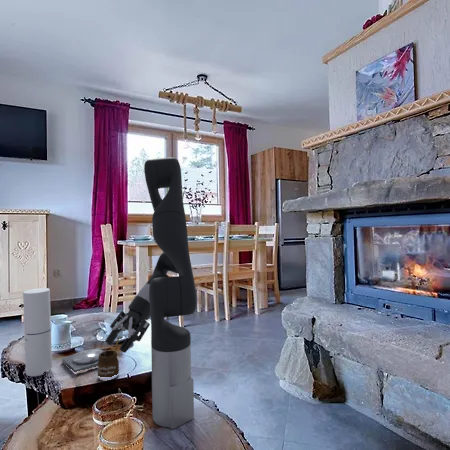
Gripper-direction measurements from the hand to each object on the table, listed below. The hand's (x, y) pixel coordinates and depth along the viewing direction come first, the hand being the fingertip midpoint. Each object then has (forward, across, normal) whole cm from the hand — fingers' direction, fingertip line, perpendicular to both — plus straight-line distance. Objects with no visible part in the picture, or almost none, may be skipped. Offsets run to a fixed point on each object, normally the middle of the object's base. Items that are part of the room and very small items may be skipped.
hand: (114, 347), depth 100 cm
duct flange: (+7, -14, +5) cm, 16 cm away
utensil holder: (+8, 0, +5) cm, 9 cm away
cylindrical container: (+16, -20, -4) cm, 26 cm away
